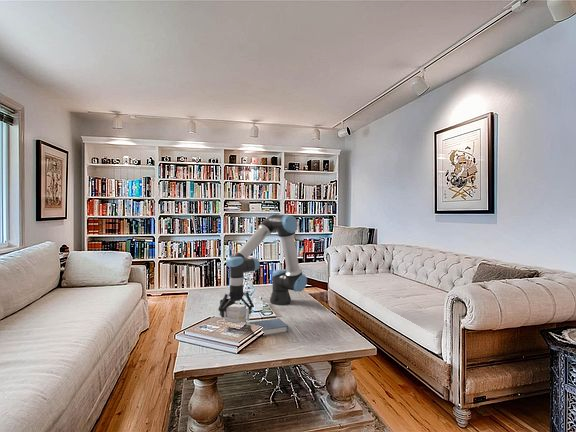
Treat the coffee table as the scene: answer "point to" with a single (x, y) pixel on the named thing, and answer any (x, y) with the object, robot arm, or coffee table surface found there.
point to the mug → (228, 306)
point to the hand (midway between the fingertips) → (236, 321)
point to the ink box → (236, 313)
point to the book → (272, 326)
